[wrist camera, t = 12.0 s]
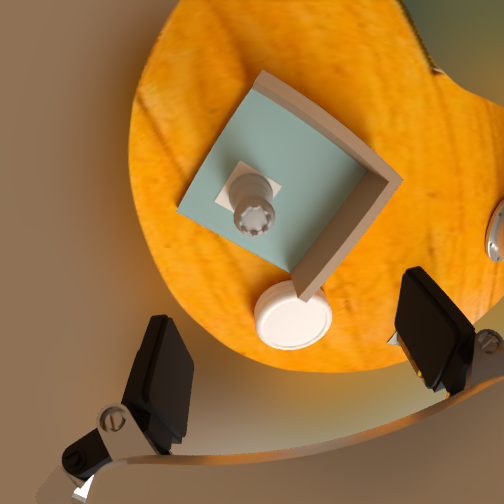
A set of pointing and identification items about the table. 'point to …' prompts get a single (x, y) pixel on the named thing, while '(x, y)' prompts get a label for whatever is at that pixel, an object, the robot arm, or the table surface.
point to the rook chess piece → (252, 204)
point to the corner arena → (293, 182)
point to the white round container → (291, 317)
